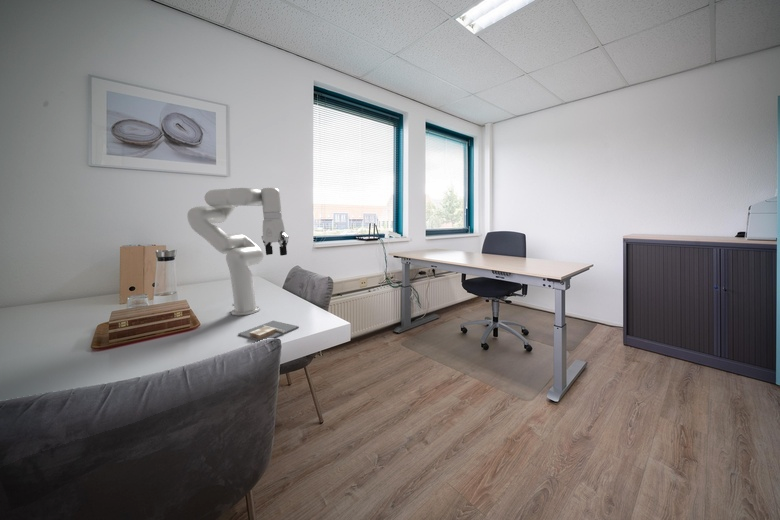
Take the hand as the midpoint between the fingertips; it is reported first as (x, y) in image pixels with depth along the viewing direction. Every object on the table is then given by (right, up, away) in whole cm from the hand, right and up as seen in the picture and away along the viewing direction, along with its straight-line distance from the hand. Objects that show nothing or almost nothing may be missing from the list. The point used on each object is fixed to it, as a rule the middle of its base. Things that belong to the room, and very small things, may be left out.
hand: (276, 254), depth 133 cm
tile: (+4, -30, -17) cm, 35 cm away
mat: (+3, -31, -16) cm, 35 cm away
